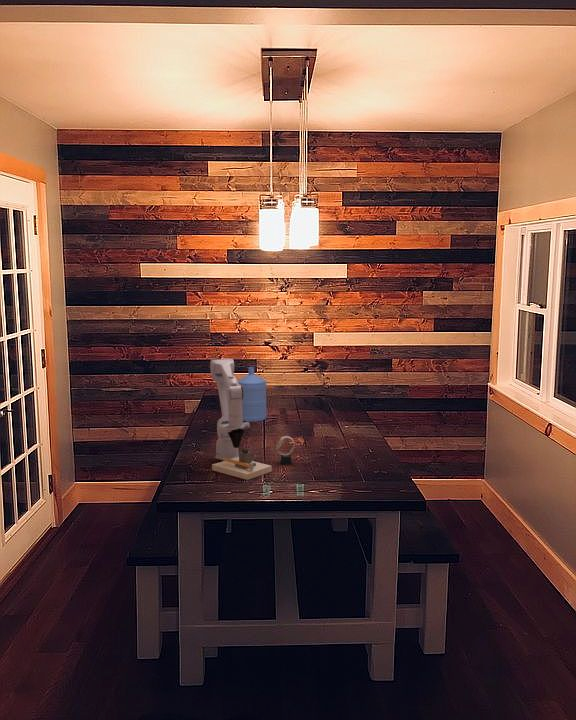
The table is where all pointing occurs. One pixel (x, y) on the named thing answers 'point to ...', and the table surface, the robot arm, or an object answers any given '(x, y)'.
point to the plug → (245, 458)
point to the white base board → (241, 469)
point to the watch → (285, 456)
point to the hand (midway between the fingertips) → (236, 447)
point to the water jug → (253, 397)
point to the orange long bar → (240, 463)
